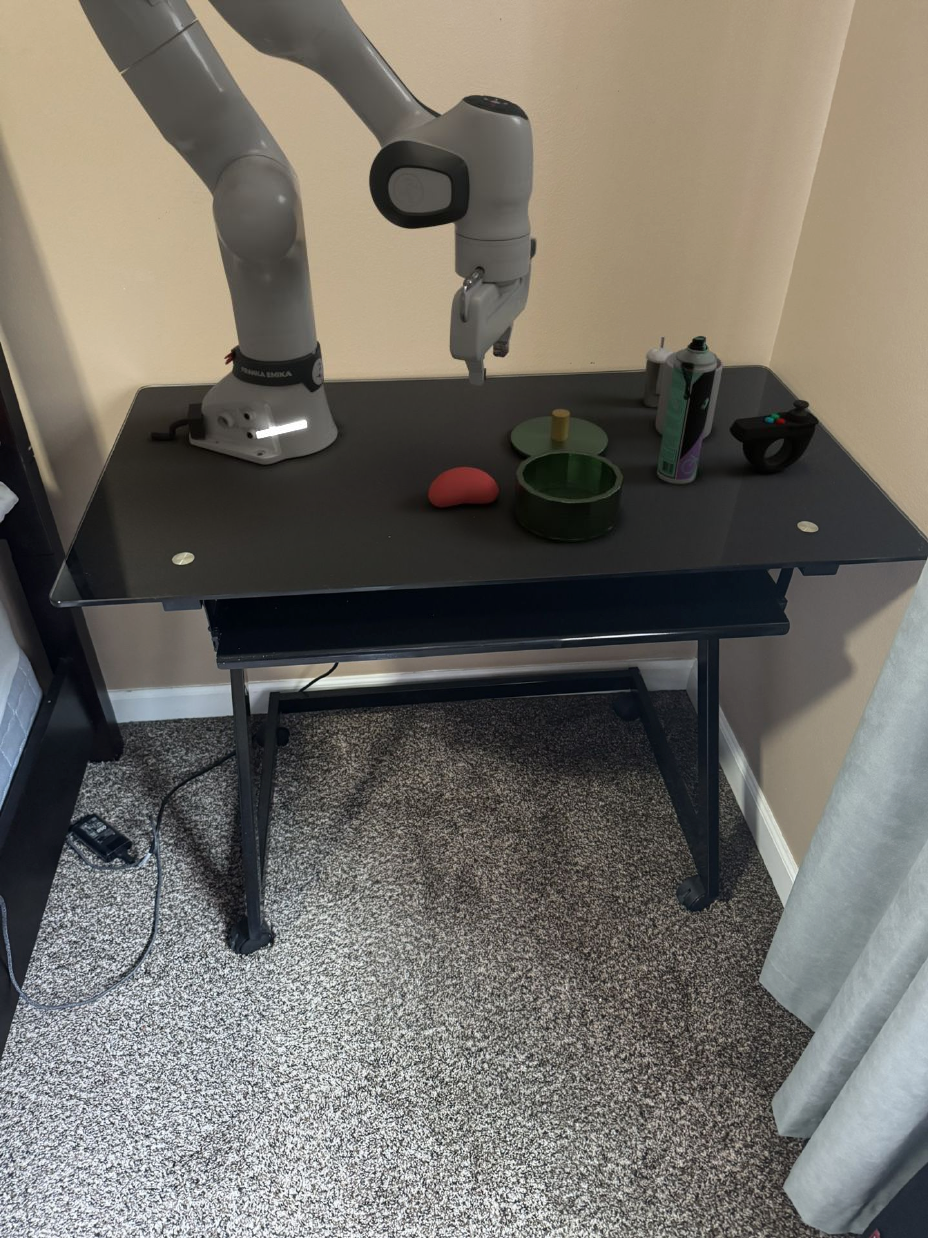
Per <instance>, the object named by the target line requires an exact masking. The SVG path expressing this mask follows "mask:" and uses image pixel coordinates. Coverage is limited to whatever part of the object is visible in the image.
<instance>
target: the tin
mask: <svg viewBox="0 0 928 1238" xmlns="http://www.w3.org/2000/svg"><path fill="white" fill-rule="evenodd" d="M623 483H624V476H623V474H622V472H621V470H620V467H618V466H617V465H616V464H615V463H613V461H611V460H609V459H608V458H607V457H604V456H601V455H600V456H598V455H595V454H592V453H590V452H583V451H576V450H553V451H547V452H543V453H539V454H536V455H532V456H531V457H529V458H526V459H524V460H523V461H521V462H520V463H519V466H518V468H517V470H516V472H515V487H514V491H515V492H514V515H515V518H516V521H517V523H518V524H519V525H520V527H522V528H523V529H524V530H525V531H527V532H529V533H530V534H532V535H533V536H535V537H539V538H541V539H544V540H547V541H553V542H557V543H584V542H589V541H593V540H597V539H600V538H602V537H603V536H606V535H607V534H609V533H610V532H611V531H612V530H613V529H614V528H615V527H616V524H617V522H618V517H619V514H620V506H621V498H622V492H623V491H622V490H623Z"/></svg>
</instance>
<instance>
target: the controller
mask: <svg viewBox="0 0 928 1238" xmlns="http://www.w3.org/2000/svg"><path fill="white" fill-rule="evenodd" d="M792 404H793V407H794V408H792V409H790V410H788V411H782V412H781V411H780V412H777V413H772V414H768V415H761V416H753V417H744V418H737V419H735V420H734V422H733V423H732V424H731V426H730V427H729V433H730V435H732V437H733V438H734V439H736V440H737V441H738V442H739V443H742V452H743V455H744V457H745V459H746V461H747V462H748V463H749V464H750V465H751V466H752V467H753V468H755V469H756V470H759V471H760V472H764V473H776V472H780V471H784V470H786V469H787V468H789V467H791V466H793V465H794V464H795V463H796V462H798V461H799V459H800V458H801V457H802V456H803V455H804V453H805V452H806V450H807V449H808V447H809V445H810V443H811V441H812V439H813V437H814V434H815V432H816V425H818V424H819V423H820V421H819V419H818V418H817V416H815V415H814V414H812V413H811V412H809V411H807V410H806V409H808V408H809V406H810V403H809V402H808V401H806V400H804V399H796V400H794V401H793V403H792ZM780 440H783V443H782V445H781V447H780V449H779V450H778V451H777V452H775V454H773V455H771V456H769V457H765V455H766V452H767V450H768V449H769V448H770V446H771V445H773V444H774V443H775V442H776V441H777V442H778V441H780Z"/></svg>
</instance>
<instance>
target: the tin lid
mask: <svg viewBox="0 0 928 1238" xmlns="http://www.w3.org/2000/svg"><path fill="white" fill-rule="evenodd" d="M510 444H511V446H512V448H513V449H514V450H515V451H516V452H517V453H518V454H520V455H521V456H523V457H525V458H526V459H528V458H529V457H531V456H532V455H536V454H539V453H543V452H547V451H553V450H576V451H583V452H590V453H592V454H595V455H598V456H601V455H603V454H604V453H605V452H606V450H607V448H608V444H609V437H608V435H607V434H606V431H605V430H603V429H602V428H601V427H600V426H598V425H597V424H595V423H593V422H590V421H588V420H585V419H582V418H579V417H573V416H571V413H570V411H569V410H567V409H563V408H556V409H554V410H553V411H552V412H551V415H548V416H545V415H544V416H538V417H535V418H533V417H532V418H531V419H528V420H525V421H523V422H521V423H519V424H517V425H516V426H515V427H514V428H513V429H512V430H511V433H510Z"/></svg>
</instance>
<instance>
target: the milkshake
mask: <svg viewBox="0 0 928 1238" xmlns="http://www.w3.org/2000/svg"><path fill="white" fill-rule="evenodd" d="M664 345H665V336H661V340H660V347H654V348H651V349H649V350H648V351H647V352H646V354H645V376H644V377H645V378H644V379H645V380H644V381H645V382H644V393H643V394H644V395H643V404H644V405H645V406H646V407H650V408H654V409H655V408H658V405H659V398H660V392H661V385H662V378H663V371H664V365H665V360H666V358H667V356H668V355H670V354H672V353H675V352H674V351H673V350H672V349H670V348H664Z"/></svg>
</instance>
